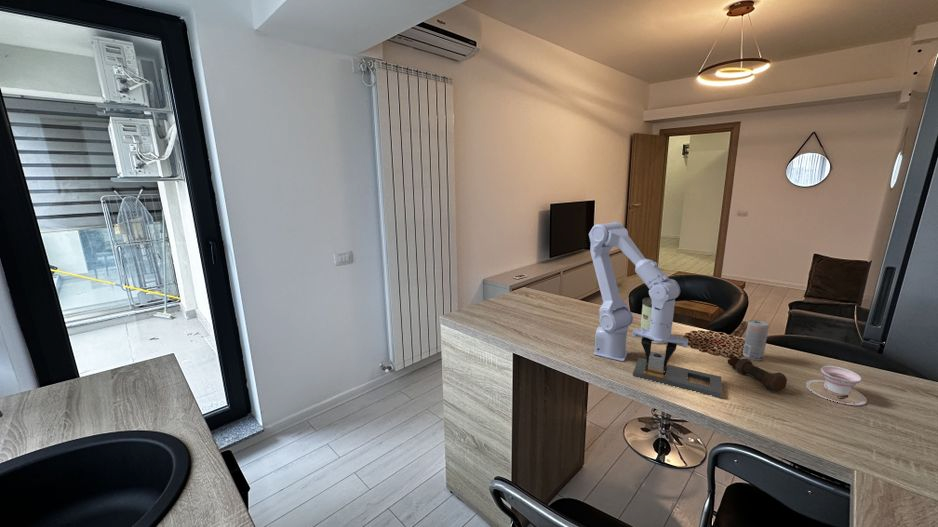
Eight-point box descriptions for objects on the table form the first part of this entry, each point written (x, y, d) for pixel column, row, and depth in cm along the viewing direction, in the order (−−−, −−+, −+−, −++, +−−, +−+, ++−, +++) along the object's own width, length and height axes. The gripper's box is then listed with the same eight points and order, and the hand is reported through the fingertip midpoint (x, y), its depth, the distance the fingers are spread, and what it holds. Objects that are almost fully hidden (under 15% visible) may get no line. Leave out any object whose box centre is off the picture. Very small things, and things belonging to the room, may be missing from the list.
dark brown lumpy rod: (731, 370, 117) (780, 396, 102) (720, 365, 115) (768, 390, 101) (741, 354, 116) (791, 378, 102) (730, 349, 115) (779, 371, 100)
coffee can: (674, 338, 136) (679, 301, 133) (663, 346, 129) (667, 308, 126) (646, 329, 143) (649, 295, 140) (633, 337, 137) (637, 301, 134)
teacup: (874, 412, 93) (879, 390, 92) (810, 397, 99) (815, 377, 98) (858, 389, 103) (863, 368, 101) (801, 377, 109) (805, 358, 108)
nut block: (647, 374, 111) (649, 356, 110) (649, 369, 114) (650, 350, 113) (662, 378, 109) (664, 359, 108) (663, 372, 112) (665, 354, 111)
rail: (632, 376, 111) (633, 371, 110) (638, 362, 119) (638, 357, 119) (721, 398, 99) (722, 392, 99) (720, 381, 107) (721, 376, 107)
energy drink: (760, 355, 122) (766, 321, 120) (765, 362, 118) (771, 327, 115) (740, 352, 125) (746, 318, 122) (744, 359, 120) (750, 324, 117)
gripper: (632, 320, 109) (628, 362, 112) (689, 330, 101) (683, 375, 104) (636, 313, 114) (632, 353, 118) (690, 322, 107) (684, 365, 110)
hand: (656, 363), depth 111 cm, fingers closed on nut block, 4 cm apart
